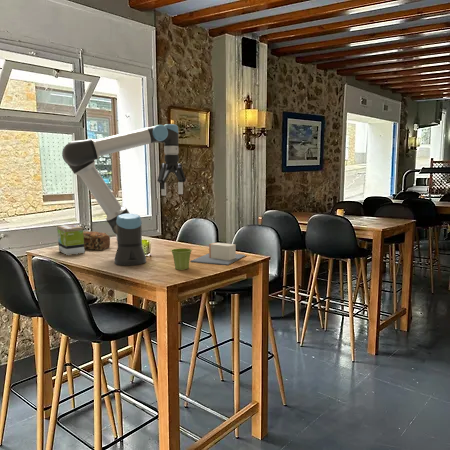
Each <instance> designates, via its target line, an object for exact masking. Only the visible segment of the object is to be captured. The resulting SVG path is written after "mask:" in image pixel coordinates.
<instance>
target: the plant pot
mask: <svg viewBox="0 0 450 450" xmlns="http://www.w3.org/2000/svg"><path fill="white" fill-rule="evenodd" d="M192 251H193V249H191V248H173V249H171V250H170V252H171V254H172V256H173V257H172V258H173V263H174V267H175V268H174V269H175V270H178V271H183V270H185V271H186V269H187V270H188V269H189V267H190V261H191V260H190V259H191V254H192Z"/></svg>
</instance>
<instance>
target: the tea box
mask: <svg viewBox="0 0 450 450" xmlns="http://www.w3.org/2000/svg"><path fill="white" fill-rule="evenodd" d="M56 230H57V239H58V240H57V242H58V251H59V252H60V251H61V253H63V254H64V255H65V254H66V255H65V256H67V255H68V256H71V255H70V254H76V255H79V254H78V253H83V254H85V249H84V234H83V232H84V227H82V226H81V225H76V224H65V225H57V229H56Z"/></svg>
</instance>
